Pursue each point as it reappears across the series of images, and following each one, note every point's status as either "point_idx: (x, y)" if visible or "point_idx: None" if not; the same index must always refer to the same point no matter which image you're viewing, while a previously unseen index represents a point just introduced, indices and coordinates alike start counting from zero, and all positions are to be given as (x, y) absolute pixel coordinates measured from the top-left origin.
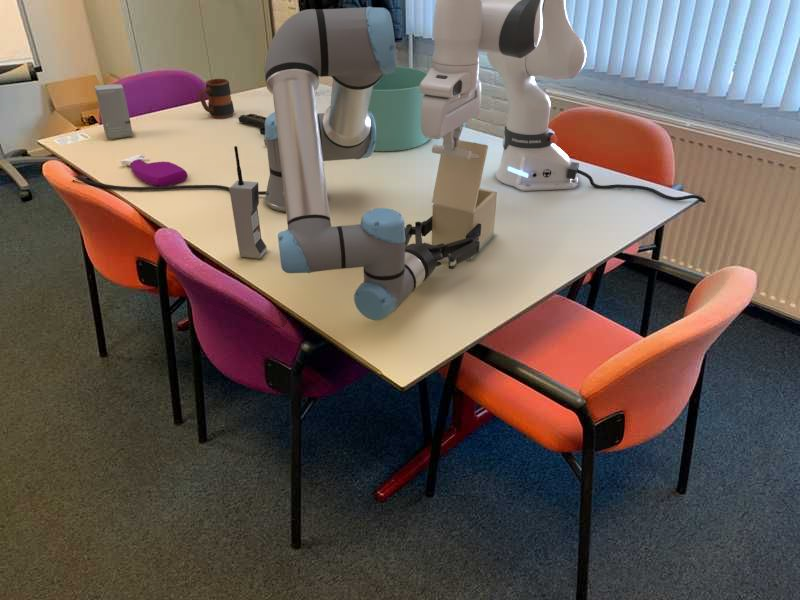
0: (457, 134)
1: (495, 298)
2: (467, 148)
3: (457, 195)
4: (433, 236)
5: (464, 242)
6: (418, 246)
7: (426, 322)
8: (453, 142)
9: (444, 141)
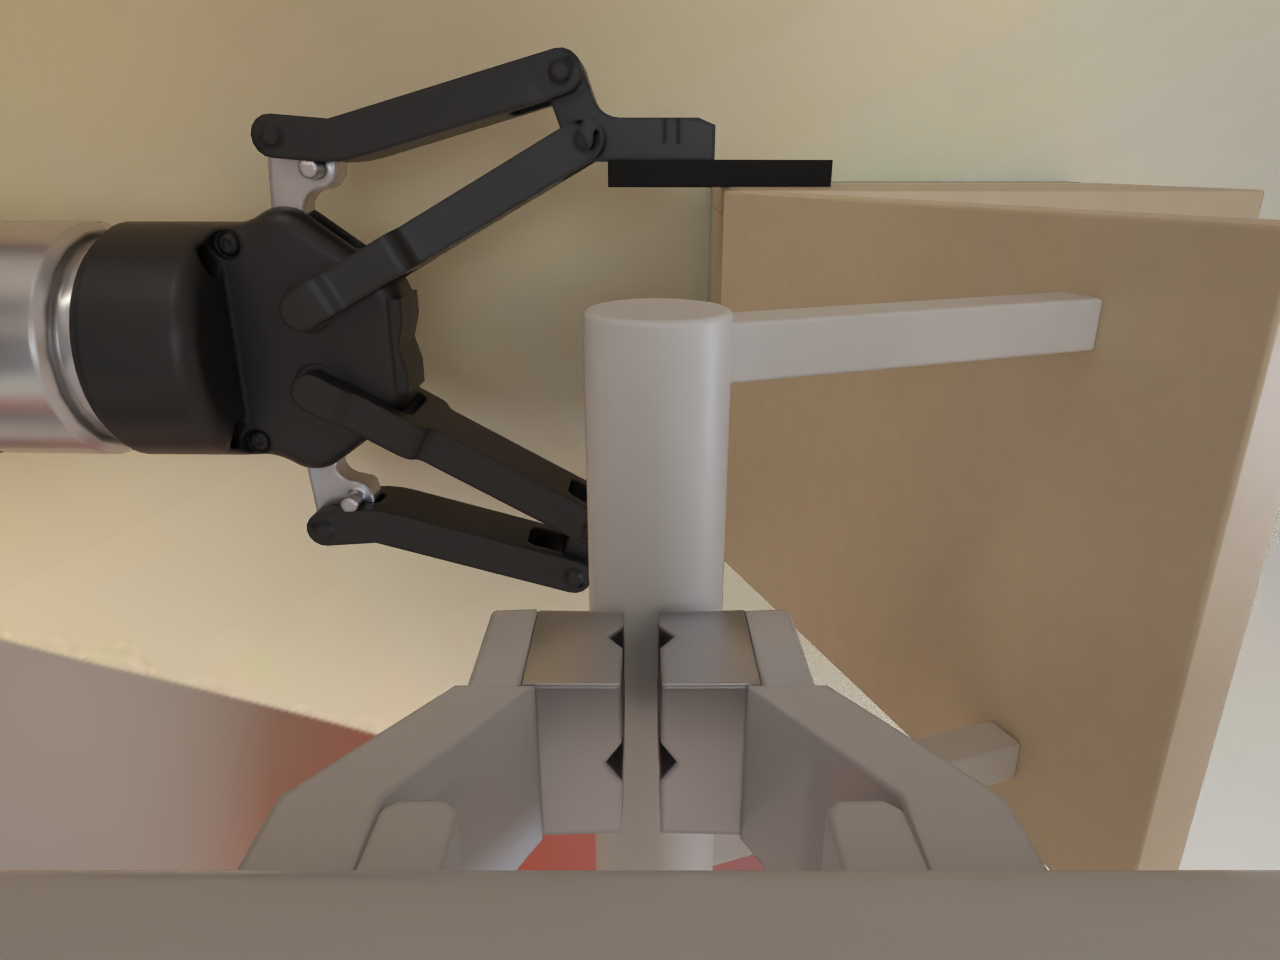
0: (790, 865)
1: (443, 647)
2: (1093, 643)
3: (762, 436)
4: (717, 198)
5: (534, 516)
6: (152, 381)
7: (101, 477)
8: (544, 820)
9: (465, 691)
